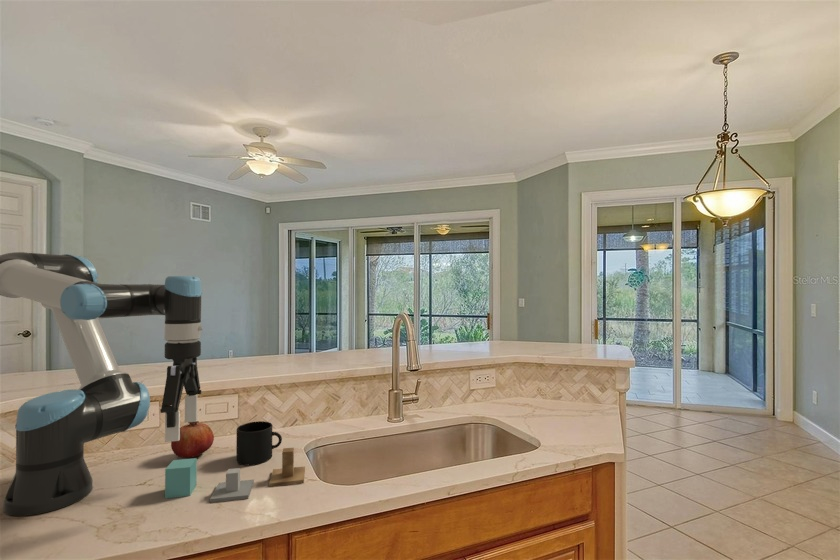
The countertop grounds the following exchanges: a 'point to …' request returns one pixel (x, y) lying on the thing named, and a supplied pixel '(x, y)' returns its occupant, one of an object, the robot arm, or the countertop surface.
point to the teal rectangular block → (180, 478)
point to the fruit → (193, 440)
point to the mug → (255, 443)
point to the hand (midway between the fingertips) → (182, 430)
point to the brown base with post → (287, 471)
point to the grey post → (232, 487)
